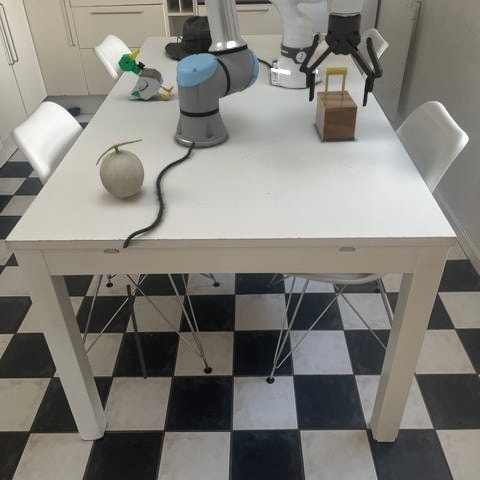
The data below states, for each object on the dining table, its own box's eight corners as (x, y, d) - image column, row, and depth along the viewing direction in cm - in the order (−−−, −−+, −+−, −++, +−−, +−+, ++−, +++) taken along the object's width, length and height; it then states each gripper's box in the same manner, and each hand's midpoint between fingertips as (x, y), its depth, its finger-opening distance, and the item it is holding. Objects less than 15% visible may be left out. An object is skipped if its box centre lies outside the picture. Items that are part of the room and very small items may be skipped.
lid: (316, 95, 158) (318, 65, 152) (346, 94, 158) (349, 63, 153) (324, 111, 146) (327, 79, 141) (357, 110, 147) (360, 78, 141)
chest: (315, 124, 162) (317, 96, 157) (344, 123, 163) (347, 95, 157) (322, 141, 152) (324, 111, 146) (353, 140, 152) (357, 110, 147)
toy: (179, 80, 179) (129, 44, 172) (154, 118, 185) (104, 85, 178) (180, 75, 184) (131, 40, 177) (155, 113, 190) (107, 81, 184)
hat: (239, 41, 247) (238, 8, 239) (231, 62, 218) (230, 27, 210) (174, 40, 250) (171, 9, 242) (157, 62, 221) (153, 26, 213)
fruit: (93, 194, 129) (82, 138, 120) (134, 179, 134) (126, 125, 126) (112, 211, 122) (101, 153, 113) (154, 195, 128) (147, 139, 119)
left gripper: (402, 11, 118) (389, 101, 130) (296, 7, 125) (293, 93, 137) (399, 18, 112) (386, 111, 125) (288, 14, 119) (286, 102, 132)
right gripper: (364, -7, 129) (358, 49, 137) (347, -20, 146) (342, 31, 154) (339, -6, 129) (335, 50, 137) (324, -20, 146) (321, 32, 154)
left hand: (337, 102), depth 131 cm, fingers open, 13 cm apart
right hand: (338, 40), depth 145 cm, fingers open, 8 cm apart
